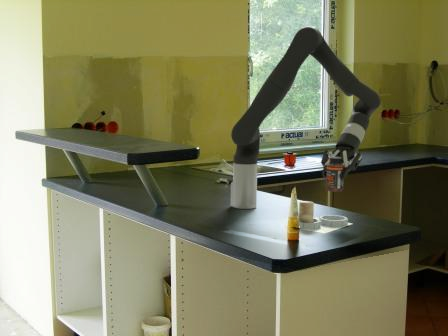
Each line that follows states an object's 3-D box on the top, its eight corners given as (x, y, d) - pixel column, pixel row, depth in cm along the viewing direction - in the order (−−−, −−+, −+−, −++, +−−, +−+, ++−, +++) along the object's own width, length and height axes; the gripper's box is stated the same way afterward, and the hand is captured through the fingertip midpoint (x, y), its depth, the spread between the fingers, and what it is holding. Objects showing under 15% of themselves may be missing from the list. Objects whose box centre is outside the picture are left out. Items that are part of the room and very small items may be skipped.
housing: (285, 229, 218) (285, 220, 218) (314, 220, 233) (315, 211, 233) (324, 237, 209) (325, 227, 209) (353, 227, 224) (353, 217, 224)
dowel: (295, 226, 219) (296, 202, 217) (303, 223, 222) (304, 200, 221) (308, 228, 216) (309, 204, 214) (315, 226, 219) (316, 202, 218)
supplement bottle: (322, 190, 222) (323, 157, 220) (332, 188, 226) (333, 155, 224) (336, 192, 218) (337, 158, 216) (347, 190, 222) (348, 157, 220)
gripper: (328, 130, 229) (309, 168, 222) (366, 133, 220) (348, 172, 213) (335, 144, 234) (317, 181, 227) (373, 147, 225) (355, 186, 218)
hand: (332, 177), depth 220 cm, fingers closed on supplement bottle, 6 cm apart
